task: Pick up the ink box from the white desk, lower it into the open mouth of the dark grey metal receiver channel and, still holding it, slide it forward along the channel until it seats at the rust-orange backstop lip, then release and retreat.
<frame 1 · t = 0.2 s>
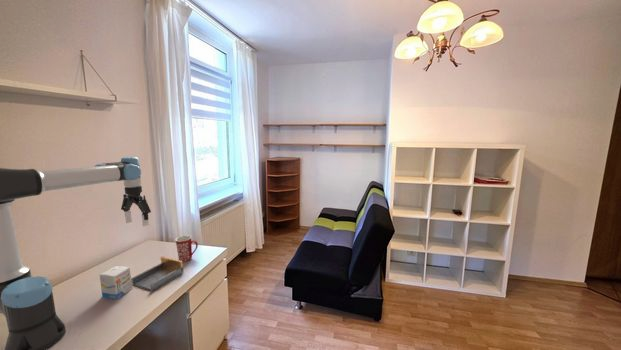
hand: (137, 224, 137), 27 cm above the table, fingers open, 13 cm apart
mug: (188, 259, 155), on the table
ink box: (117, 293, 121), on the table
receiver: (158, 278, 134), on the table
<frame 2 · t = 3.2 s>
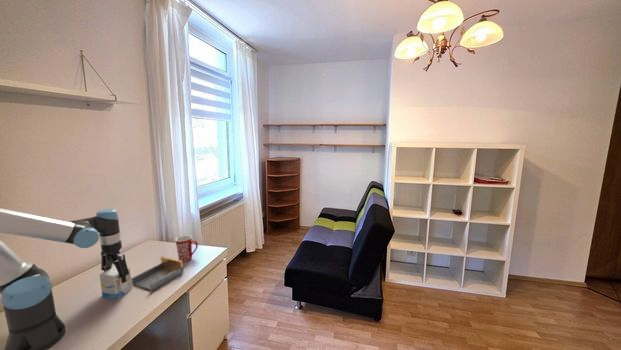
hand: (116, 286, 121), 4 cm above the table, fingers closed on ink box, 9 cm apart
ink box: (117, 293, 121), on the table, touching gripper
everything else where it was.
when the fingers open (5 cm above the table, at t = 9.6 s): ink box stays where it is, resting on receiver.
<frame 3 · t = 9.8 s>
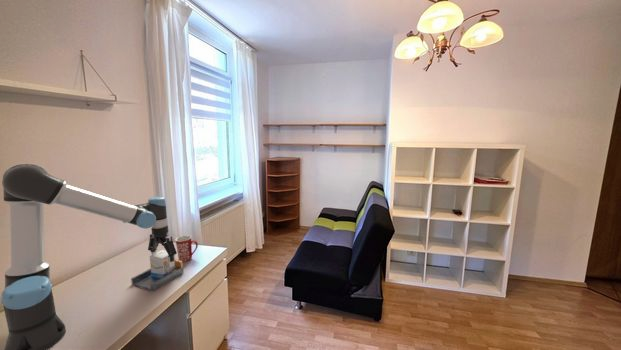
hand: (163, 264, 136), 6 cm above the table, fingers open, 11 cm apart
ink box: (164, 274, 136), point 1 cm above the table, touching receiver
everything else where it was.
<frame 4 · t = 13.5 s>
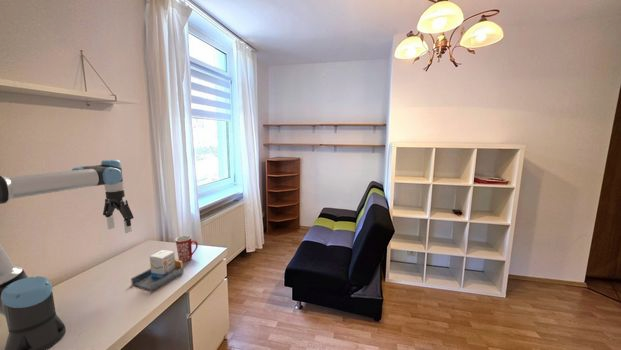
hand: (119, 230, 130), 27 cm above the table, fingers open, 13 cm apart
nothing on the table moved.
at the end: ink box 0.7 cm from the target spot on the receiver, point 0.8 cm above the receiver's base; ink box tilted 0°; the gripper is holding nothing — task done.
